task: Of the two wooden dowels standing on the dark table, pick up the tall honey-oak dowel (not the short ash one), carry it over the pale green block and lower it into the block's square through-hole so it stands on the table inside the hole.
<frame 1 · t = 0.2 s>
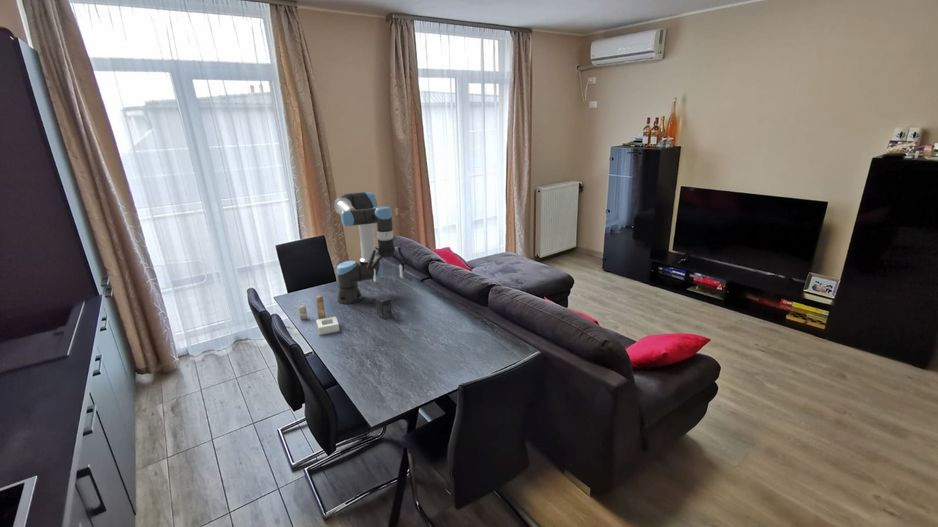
hand: (388, 279, 208), 28 cm above the table, fingers open, 13 cm apart
short pin: (303, 318, 228), on the table
long pin: (322, 320, 226), on the table
hole block: (328, 328, 216), on the table
box: (384, 315, 231), on the table
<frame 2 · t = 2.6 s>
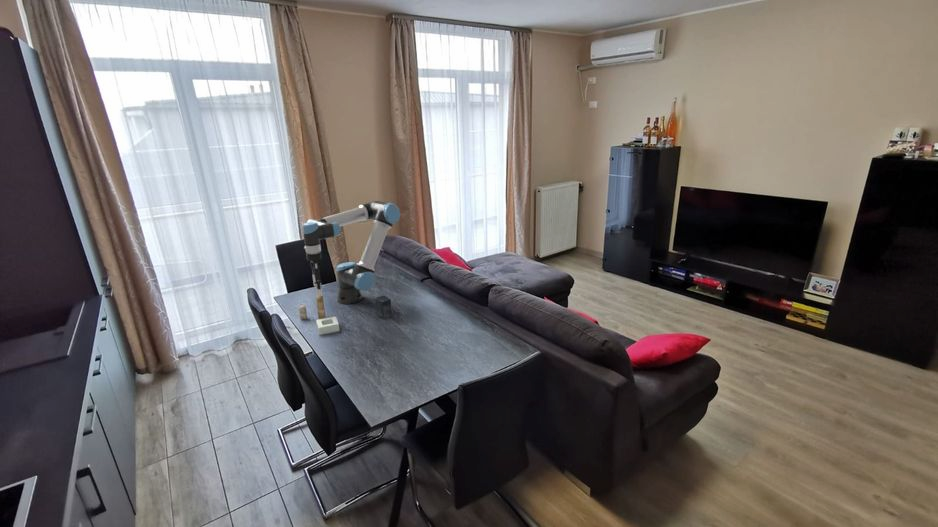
hand: (318, 290, 220), 18 cm above the table, fingers open, 13 cm apart
nothing on the table moved.
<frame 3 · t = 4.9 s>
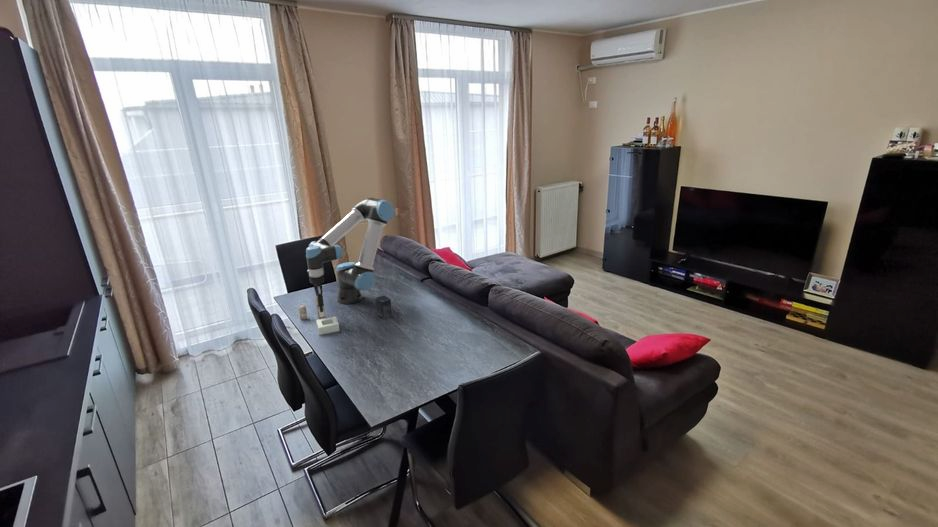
hand: (321, 315, 225), 3 cm above the table, fingers closed on long pin, 3 cm apart
long pin: (322, 320, 225), on the table, touching gripper
everything else where it was.
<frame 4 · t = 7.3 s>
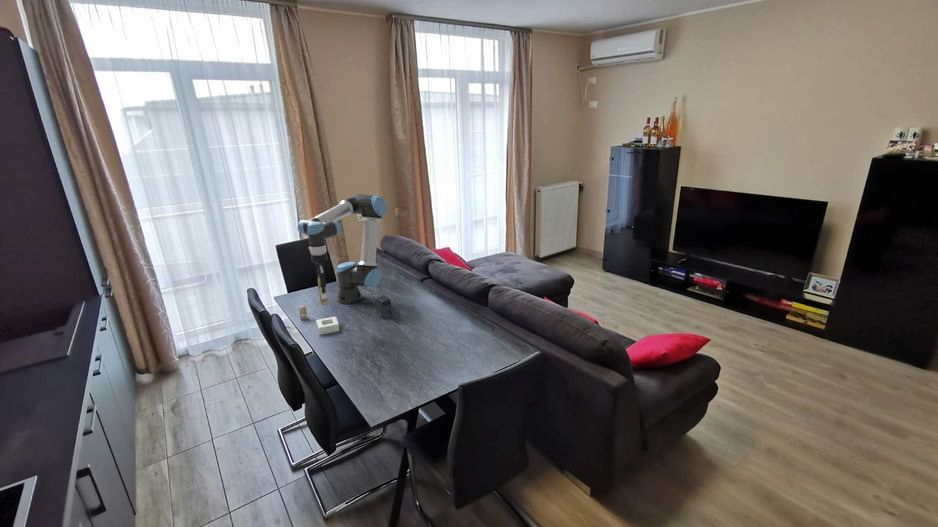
hand: (323, 296, 210), 18 cm above the table, fingers closed on long pin, 3 cm apart
long pin: (324, 303, 211), point 15 cm above the table, touching gripper
everything else where it was.
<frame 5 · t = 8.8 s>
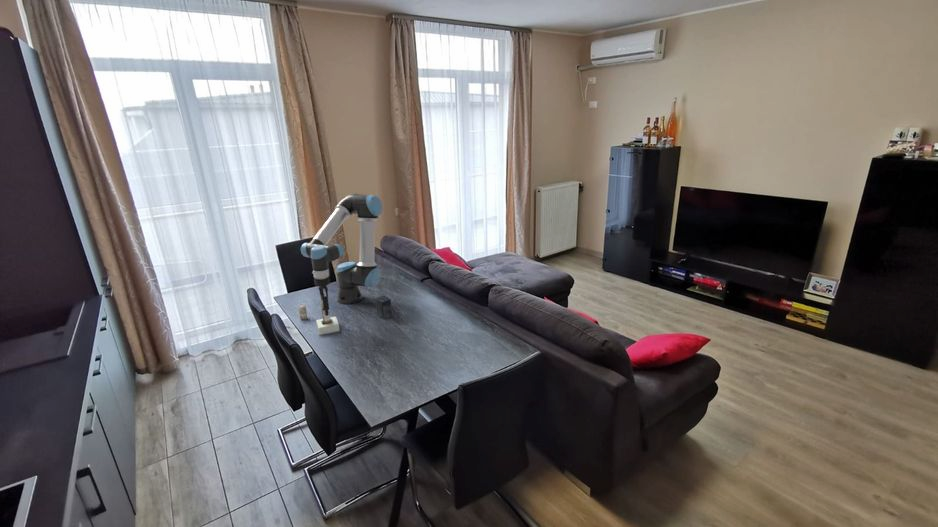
hand: (326, 318, 214), 6 cm above the table, fingers closed on long pin, 3 cm apart
long pin: (327, 325, 215), point 2 cm above the table, touching gripper
everything else where it was.
when the fingers open (6 cm above the table, at t = 9.7 s): long pin drops 1 cm, resting in hole block.
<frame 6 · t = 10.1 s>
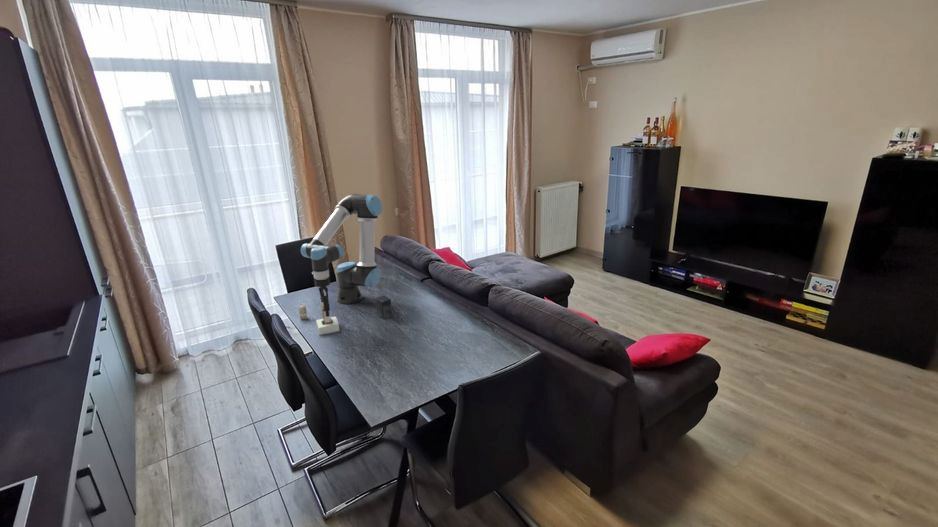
hand: (326, 317, 214), 7 cm above the table, fingers open, 9 cm apart
long pin: (328, 328, 216), resting in hole block
everything else where it was.
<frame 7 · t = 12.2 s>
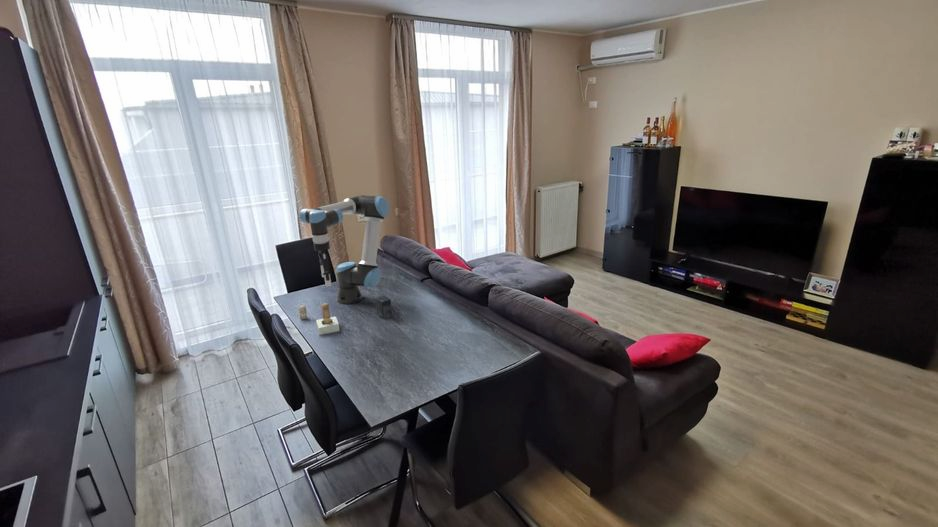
hand: (326, 281, 211), 26 cm above the table, fingers open, 13 cm apart
nothing on the table moved.
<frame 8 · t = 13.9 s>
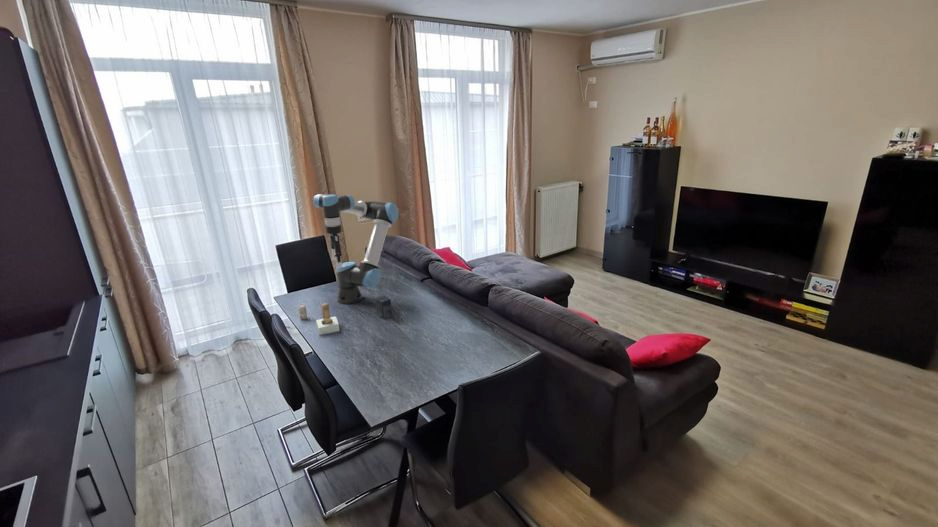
hand: (337, 264, 218), 32 cm above the table, fingers open, 13 cm apart
nothing on the table moved.
at the end: long pin 0.1 cm off-centre on the hole block, point 0.0 cm above the hole block's base; long pin tilted 0°; short pin moved 0.0 cm from its start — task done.
